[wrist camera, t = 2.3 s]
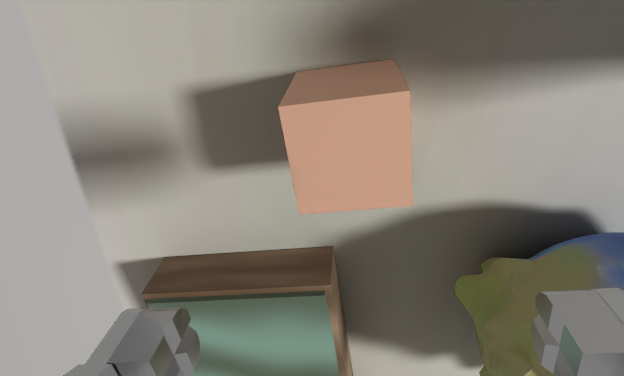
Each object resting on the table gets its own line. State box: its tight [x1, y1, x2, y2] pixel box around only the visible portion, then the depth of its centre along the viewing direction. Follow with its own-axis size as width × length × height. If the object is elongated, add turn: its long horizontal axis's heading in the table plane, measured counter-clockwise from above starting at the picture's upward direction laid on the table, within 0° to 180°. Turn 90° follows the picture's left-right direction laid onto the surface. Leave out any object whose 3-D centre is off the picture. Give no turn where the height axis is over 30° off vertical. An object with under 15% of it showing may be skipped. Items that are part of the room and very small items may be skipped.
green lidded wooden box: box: [141, 246, 353, 376], centre depth 28 cm, size 14×12×4 cm
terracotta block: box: [278, 59, 413, 215], centre depth 18 cm, size 5×5×6 cm
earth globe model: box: [454, 233, 624, 376], centre depth 20 cm, size 14×16×15 cm
